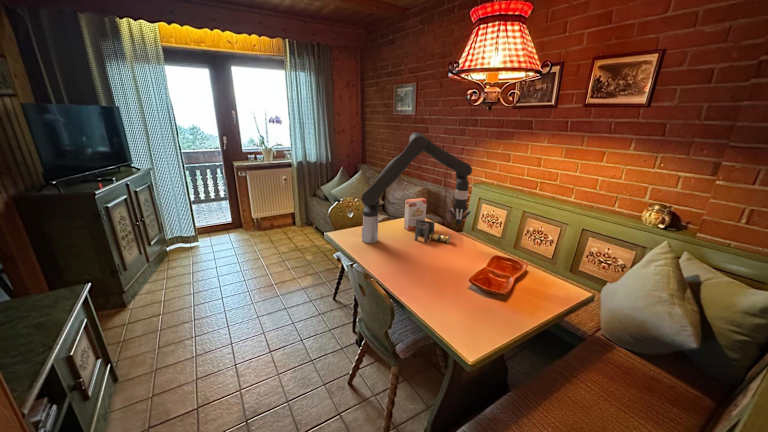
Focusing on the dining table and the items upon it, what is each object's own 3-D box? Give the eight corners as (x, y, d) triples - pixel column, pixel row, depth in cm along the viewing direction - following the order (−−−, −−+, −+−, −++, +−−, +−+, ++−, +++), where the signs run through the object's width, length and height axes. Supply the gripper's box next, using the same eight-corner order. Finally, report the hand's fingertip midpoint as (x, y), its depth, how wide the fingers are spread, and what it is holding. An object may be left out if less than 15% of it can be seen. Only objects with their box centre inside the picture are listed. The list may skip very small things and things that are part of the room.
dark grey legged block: (411, 239, 189) (412, 225, 185) (416, 233, 199) (416, 219, 196) (429, 242, 185) (431, 227, 182) (433, 236, 195) (434, 221, 192)
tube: (429, 241, 187) (429, 234, 186) (430, 238, 191) (431, 231, 190) (448, 244, 183) (449, 237, 182) (449, 241, 187) (450, 234, 186)
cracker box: (407, 231, 203) (409, 201, 196) (403, 228, 208) (404, 199, 201) (425, 228, 209) (427, 199, 202) (420, 225, 214) (422, 197, 207)
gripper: (448, 197, 173) (446, 225, 179) (472, 200, 169) (469, 228, 174) (450, 194, 180) (448, 221, 185) (473, 196, 175) (470, 224, 181)
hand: (458, 224), depth 180 cm, fingers closed
